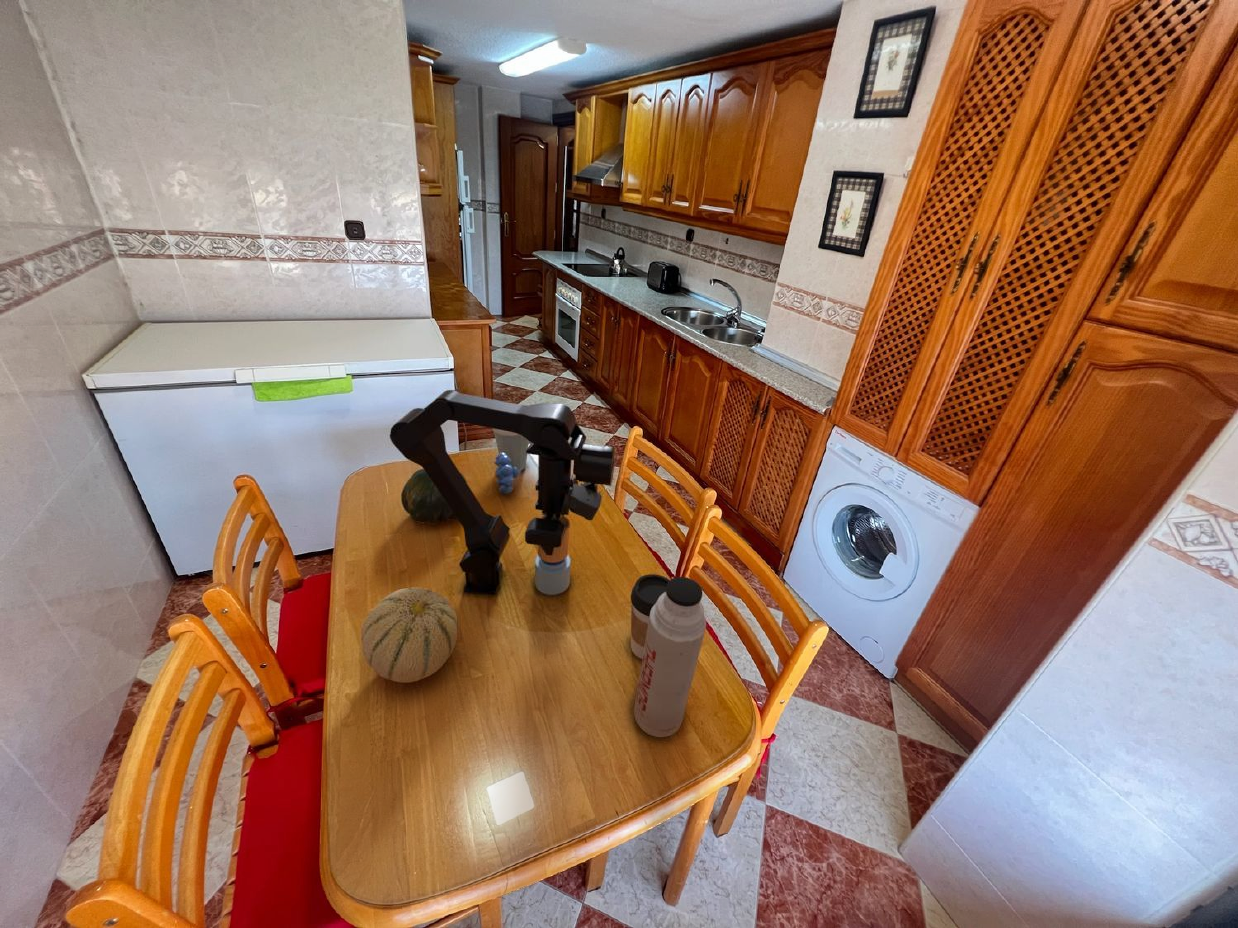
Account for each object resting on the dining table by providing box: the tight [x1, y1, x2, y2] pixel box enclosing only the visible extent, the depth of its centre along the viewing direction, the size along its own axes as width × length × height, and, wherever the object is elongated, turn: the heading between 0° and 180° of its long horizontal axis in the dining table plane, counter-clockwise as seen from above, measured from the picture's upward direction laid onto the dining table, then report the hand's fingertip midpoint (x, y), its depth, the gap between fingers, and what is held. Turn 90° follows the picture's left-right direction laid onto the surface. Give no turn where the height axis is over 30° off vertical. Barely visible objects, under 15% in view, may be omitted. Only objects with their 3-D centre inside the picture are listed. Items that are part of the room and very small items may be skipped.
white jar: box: [534, 555, 572, 596], centre depth 102 cm, size 7×7×8 cm
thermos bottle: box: [633, 576, 707, 738], centre depth 74 cm, size 8×8×28 cm
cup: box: [536, 514, 571, 562], centre depth 94 cm, size 6×6×7 cm
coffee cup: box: [630, 573, 671, 660], centre depth 88 cm, size 8×8×15 cm
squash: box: [400, 468, 468, 525], centre depth 117 cm, size 14×15×15 cm
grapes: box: [494, 452, 522, 495], centre depth 128 cm, size 12×7×12 cm, turn 23°
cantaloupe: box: [360, 586, 459, 683], centre depth 81 cm, size 15×15×15 cm
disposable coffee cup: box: [491, 428, 530, 472], centre depth 138 cm, size 11×11×15 cm
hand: (552, 543), depth 95 cm, fingers closed on cup, 6 cm apart
